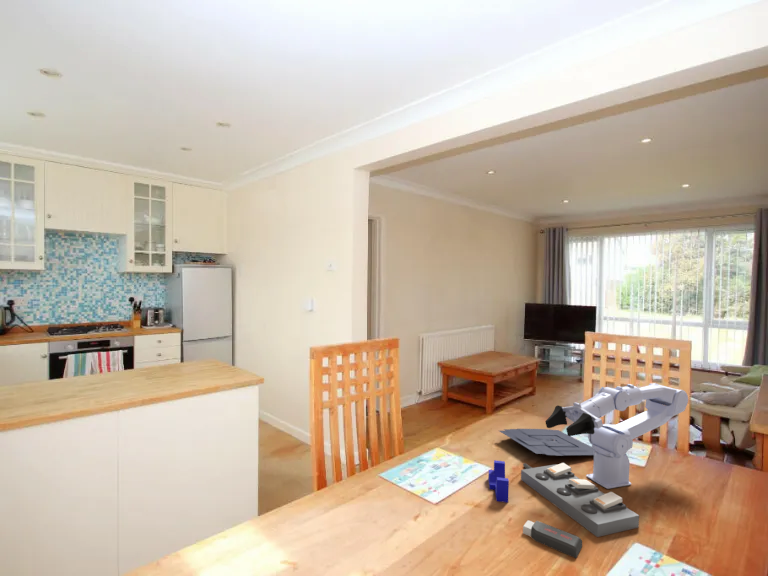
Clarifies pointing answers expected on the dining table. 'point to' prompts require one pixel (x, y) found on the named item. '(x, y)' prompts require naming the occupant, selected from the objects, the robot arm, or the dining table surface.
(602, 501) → the rocker
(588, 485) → the rocker middle
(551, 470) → the rocker
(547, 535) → the usb drive
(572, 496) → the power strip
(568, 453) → the grey ridged plate
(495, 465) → the blue pipe cradle
